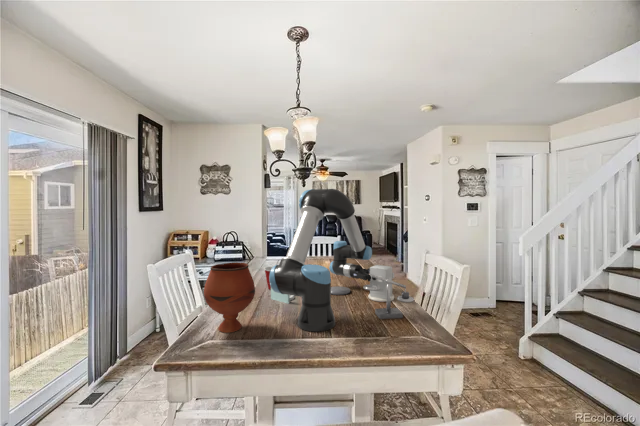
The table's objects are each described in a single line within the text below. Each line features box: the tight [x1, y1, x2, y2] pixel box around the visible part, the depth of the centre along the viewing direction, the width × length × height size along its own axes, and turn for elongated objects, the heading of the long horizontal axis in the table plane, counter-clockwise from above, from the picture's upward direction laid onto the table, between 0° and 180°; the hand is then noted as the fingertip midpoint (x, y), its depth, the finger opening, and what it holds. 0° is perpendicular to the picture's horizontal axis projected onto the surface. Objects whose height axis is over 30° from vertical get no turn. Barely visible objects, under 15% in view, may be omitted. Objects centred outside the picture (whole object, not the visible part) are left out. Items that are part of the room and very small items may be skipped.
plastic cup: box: [263, 266, 273, 291], centre depth 177 cm, size 11×11×12 cm
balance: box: [363, 274, 415, 320], centre depth 133 cm, size 22×7×18 cm, turn 96°
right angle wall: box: [270, 288, 295, 304], centre depth 159 cm, size 12×12×8 cm
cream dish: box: [367, 293, 395, 303], centre depth 157 cm, size 13×13×1 cm
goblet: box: [203, 262, 256, 334], centre depth 120 cm, size 19×19×25 cm
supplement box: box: [369, 264, 393, 299], centre depth 157 cm, size 9×9×15 cm
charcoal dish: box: [331, 285, 351, 296], centre depth 169 cm, size 13×13×1 cm
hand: (388, 277), depth 154 cm, fingers open, 10 cm apart
